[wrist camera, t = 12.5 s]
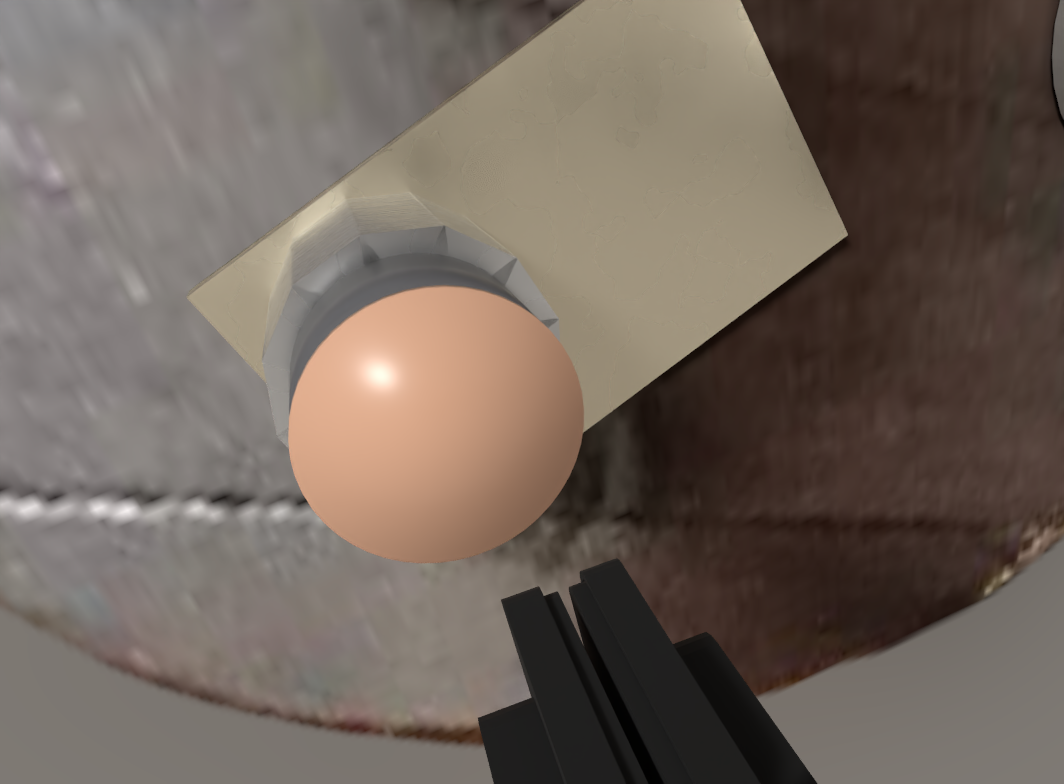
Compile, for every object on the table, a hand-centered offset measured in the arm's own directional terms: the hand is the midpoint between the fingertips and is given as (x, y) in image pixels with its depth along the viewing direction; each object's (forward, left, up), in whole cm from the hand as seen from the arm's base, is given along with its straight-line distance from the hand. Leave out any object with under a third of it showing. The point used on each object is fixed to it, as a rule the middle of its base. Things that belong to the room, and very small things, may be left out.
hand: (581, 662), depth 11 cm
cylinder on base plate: (-5, +2, -20) cm, 21 cm away
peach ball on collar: (0, 0, -16) cm, 16 cm away
